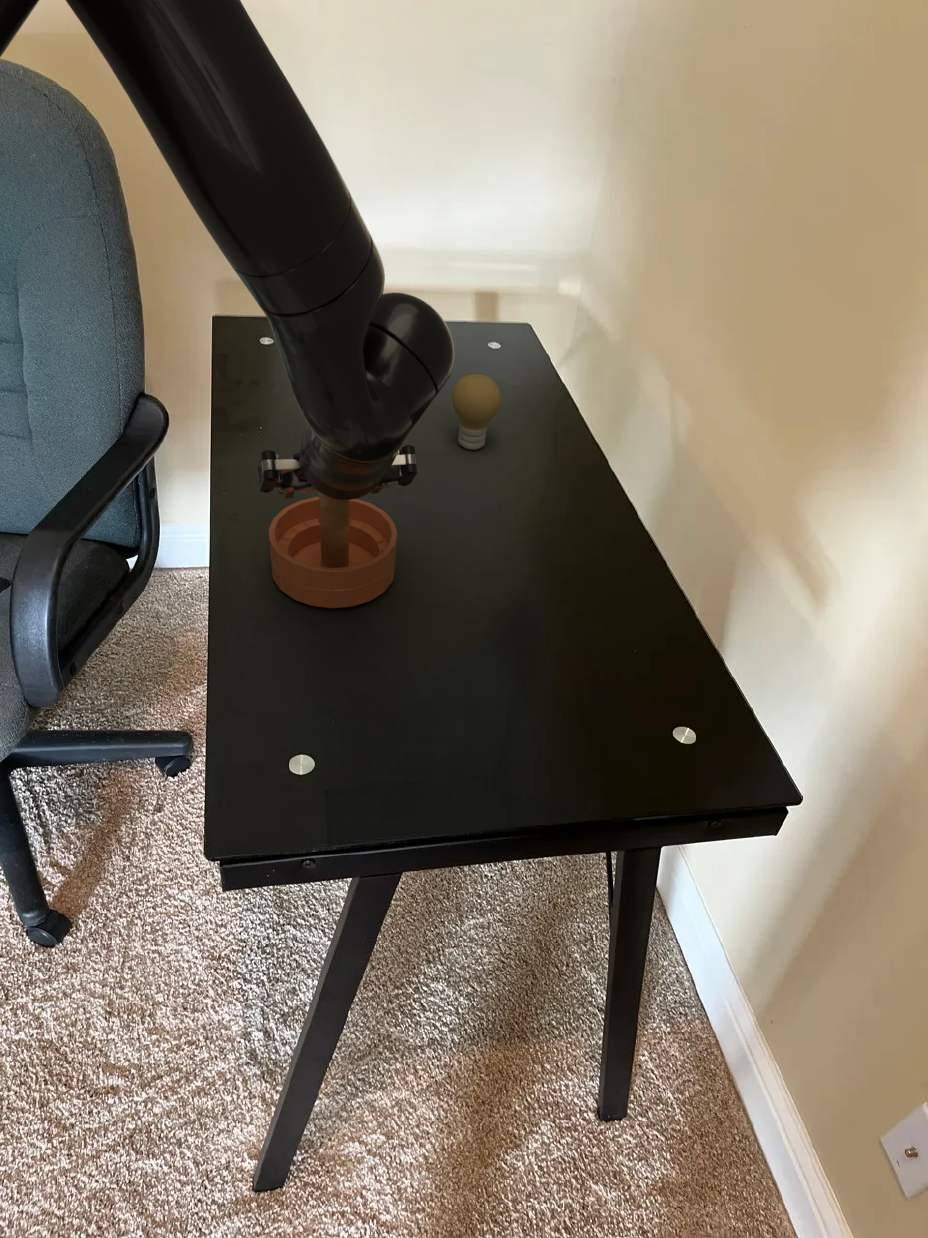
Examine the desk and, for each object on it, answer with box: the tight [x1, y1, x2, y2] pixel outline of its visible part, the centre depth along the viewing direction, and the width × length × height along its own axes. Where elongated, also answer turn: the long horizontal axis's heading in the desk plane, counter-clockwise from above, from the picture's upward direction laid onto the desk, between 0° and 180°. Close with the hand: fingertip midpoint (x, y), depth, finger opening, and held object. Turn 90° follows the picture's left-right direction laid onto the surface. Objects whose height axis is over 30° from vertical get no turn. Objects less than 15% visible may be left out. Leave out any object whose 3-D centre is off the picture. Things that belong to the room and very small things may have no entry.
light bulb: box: [451, 373, 502, 451], centre depth 110 cm, size 6×6×10 cm
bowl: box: [268, 496, 398, 609], centre depth 88 cm, size 13×13×6 cm
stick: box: [318, 491, 349, 568], centre depth 86 cm, size 3×3×12 cm
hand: (330, 485), depth 83 cm, fingers open, 8 cm apart
